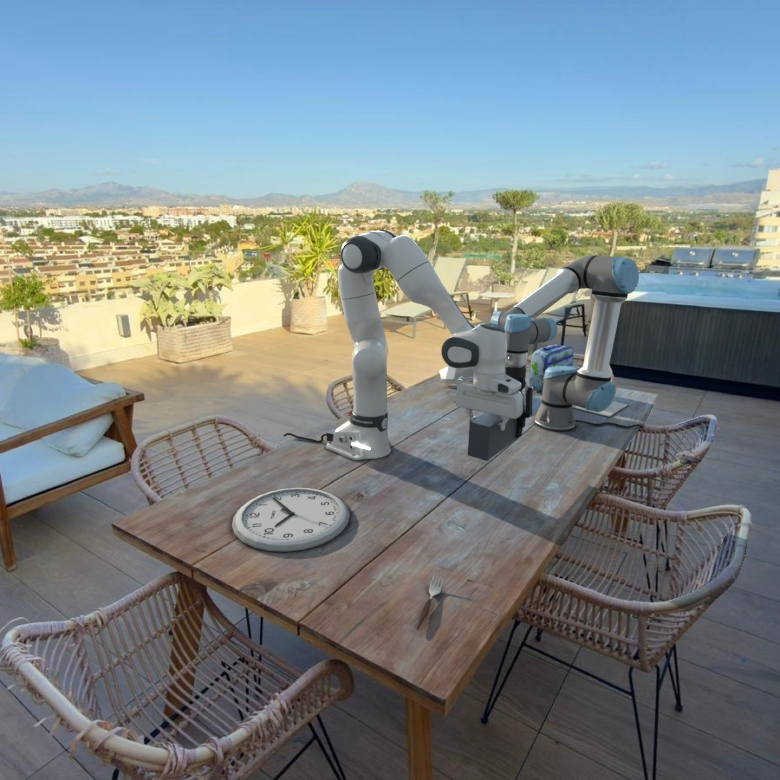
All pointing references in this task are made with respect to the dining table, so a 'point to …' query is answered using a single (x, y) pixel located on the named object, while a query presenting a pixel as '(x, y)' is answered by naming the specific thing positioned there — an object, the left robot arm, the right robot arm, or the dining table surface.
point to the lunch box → (548, 362)
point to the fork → (433, 591)
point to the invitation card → (608, 409)
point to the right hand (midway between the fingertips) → (508, 433)
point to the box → (490, 436)
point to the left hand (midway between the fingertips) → (486, 426)
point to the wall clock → (290, 519)
